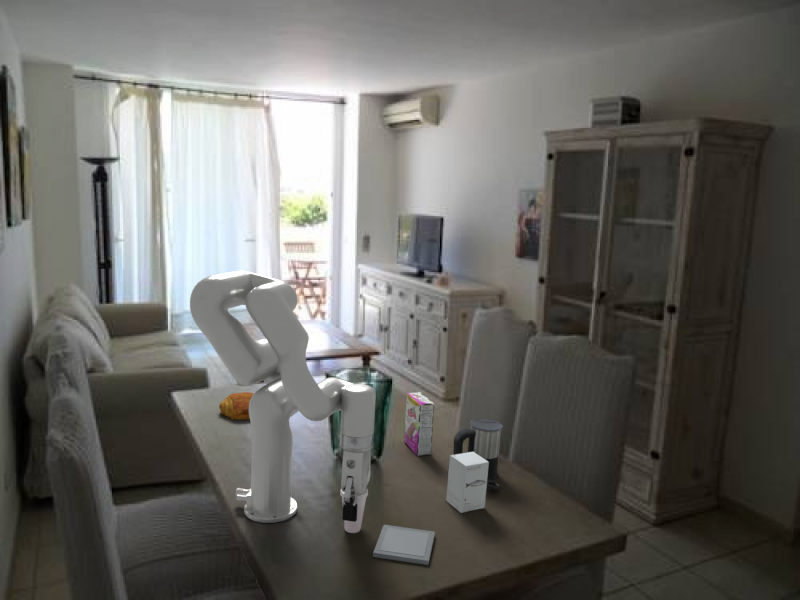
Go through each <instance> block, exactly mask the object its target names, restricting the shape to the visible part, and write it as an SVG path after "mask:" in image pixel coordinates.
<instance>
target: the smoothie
mask: <svg viewBox="0 0 800 600" xmlns="http://www.w3.org/2000/svg"><path fill="white" fill-rule="evenodd" d="M352 491H355V489H354V488H352ZM344 493H345V492H343V491H342V489H341V488H340V493H339V494H340V496H341V503H342V506H343V501H344ZM368 496H369V489H368V487H366V488H365V490H364V492H363V493H362V494H359V493H357V501H356V504H358V505H357V520H356V522H353V521H346V520H343V526H344V531H345V532H347V533H350V534H356V533H359V532H360V531H361V529H362V522H363V518H364V511H365V506H366V501H367V497H368ZM351 497H352V498H353V499H354V494H351Z"/></svg>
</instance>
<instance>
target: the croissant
mask: <svg viewBox="0 0 800 600" xmlns="http://www.w3.org/2000/svg"><path fill="white" fill-rule="evenodd" d="M254 393H255V392H249V391H248V392H244V391H243V392H236V393H231V394H229V395H228V396H226V397H225V398H224V400H222V401H221V402H220V404H219V407H218V408H219V411H220V413H221V414H222V415H223V416H224V417H227V418H230V420H232V421H233V420H236V421H242V420H243V421H244V420H250V417H249V402H250V400H251V398H252V396H253V394H254Z"/></svg>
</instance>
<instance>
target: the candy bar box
mask: <svg viewBox="0 0 800 600" xmlns="http://www.w3.org/2000/svg"><path fill="white" fill-rule="evenodd" d="M405 401H406V402H405V417H404V418H405V420H404V421H405V422H404V436H403V437H404V438H403V442H404V444H406V446H407V447H408V448H409V449H410V450H411V451H412V452H413V453H414V454H415V455H416V456H417V457H421V456H428V455H431V454H432V446H433V431H434V430H433V428H434V413H435V403H434V402H433V401H432V400H430V399H429V398H428V397H427V396H425V395H424V394H423V393H422V392H421V391H418V392H416V391H413V392H407V393H406V399H405Z"/></svg>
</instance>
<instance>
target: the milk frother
mask: <svg viewBox="0 0 800 600" xmlns="http://www.w3.org/2000/svg"><path fill="white" fill-rule="evenodd" d="M469 425H470V428H463V429H460V430H459V431H457V433H456V434H455V435H454V438H453V452H452V453H453V454H452V455H456V454H462V453H464V452H463V451H464V447H463V446H464V442H465V440H467V439H468V442H467V443H468V444H467V453H468V452H474V453H476V454H477V455H479V456H481V457H482V458H484V459H485V460H487V461H488V462H489V466H488V477H487V487H486V489H489V490H490V491H491V492H493V491H498V490H500V484H498V483H497V482H496V481H495V480H494V479H496V478H497V477H499V473H498V466H499V454H500V453H499V452H500V445H501V437H502V436H501V434H502V429H503V425H502V423H501V422H499V421H497V420H492V419H487V418H476V419H471V421H469Z"/></svg>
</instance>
